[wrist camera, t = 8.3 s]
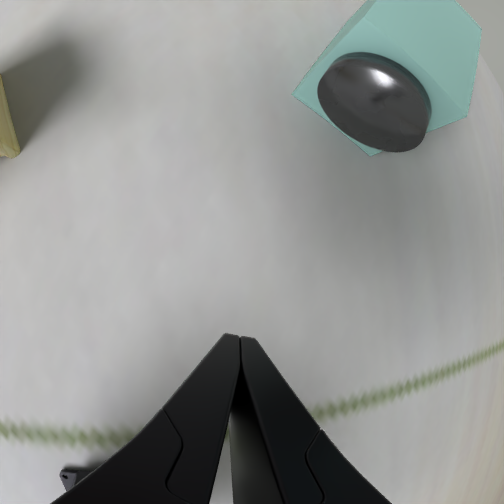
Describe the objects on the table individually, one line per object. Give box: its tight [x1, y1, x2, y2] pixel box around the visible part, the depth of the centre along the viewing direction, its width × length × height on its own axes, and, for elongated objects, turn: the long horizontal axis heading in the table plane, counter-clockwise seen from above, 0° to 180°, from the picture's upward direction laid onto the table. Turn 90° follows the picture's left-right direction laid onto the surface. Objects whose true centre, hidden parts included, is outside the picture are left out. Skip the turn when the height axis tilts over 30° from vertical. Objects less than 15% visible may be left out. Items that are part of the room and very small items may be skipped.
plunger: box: [317, 52, 432, 152], centre depth 18 cm, size 12×7×7 cm, turn 147°
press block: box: [291, 0, 482, 156], centre depth 19 cm, size 12×8×10 cm, turn 147°
